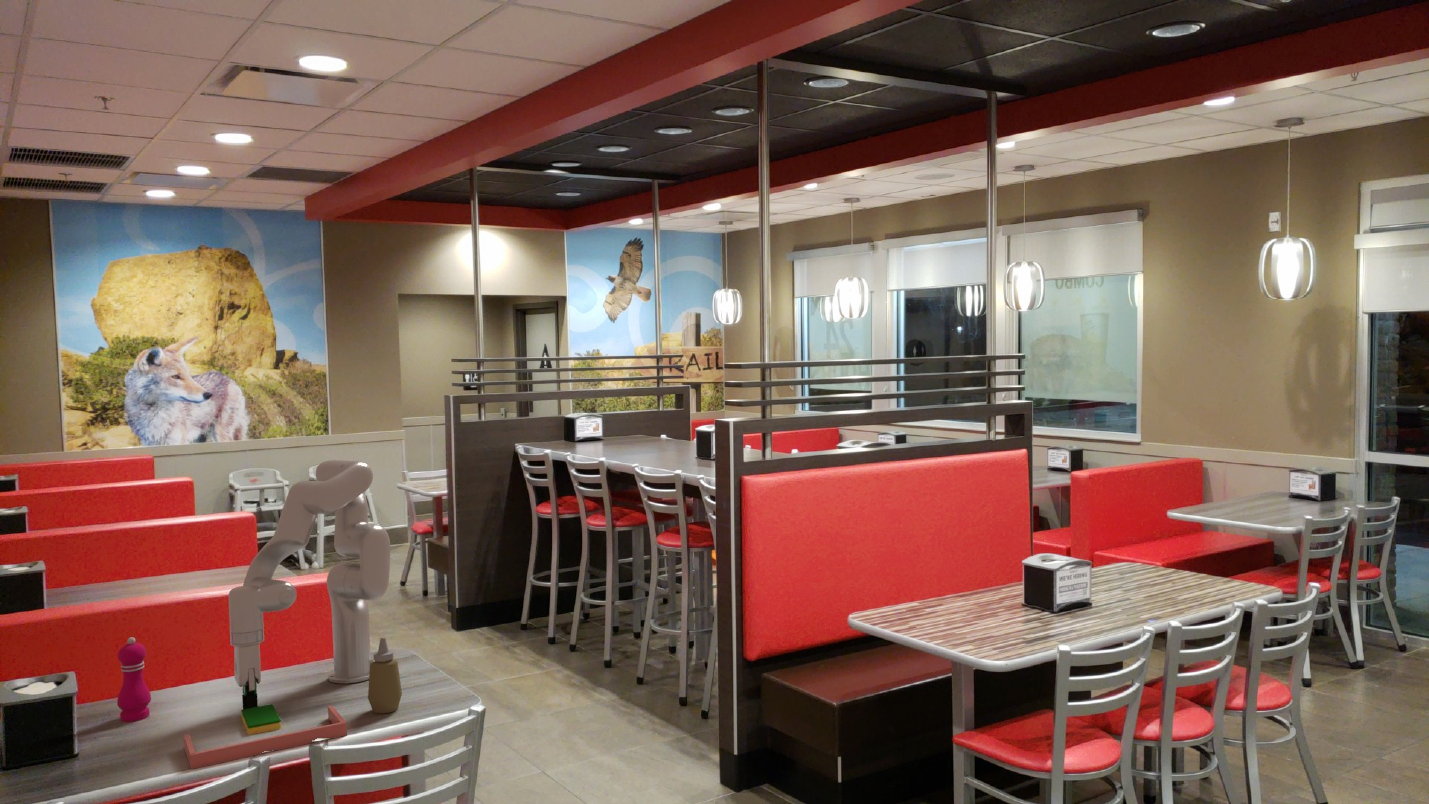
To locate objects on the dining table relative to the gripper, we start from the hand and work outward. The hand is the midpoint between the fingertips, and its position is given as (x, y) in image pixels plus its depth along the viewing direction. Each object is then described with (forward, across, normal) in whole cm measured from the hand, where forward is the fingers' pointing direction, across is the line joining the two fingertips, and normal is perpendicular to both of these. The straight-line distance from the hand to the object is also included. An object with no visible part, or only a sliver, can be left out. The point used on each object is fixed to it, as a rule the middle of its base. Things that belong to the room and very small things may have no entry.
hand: (250, 710), depth 247 cm
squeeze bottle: (+1, +18, +28) cm, 33 cm away
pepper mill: (+1, -15, -24) cm, 28 cm away
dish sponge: (+2, +8, +1) cm, 9 cm away
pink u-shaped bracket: (+1, +23, 0) cm, 23 cm away
